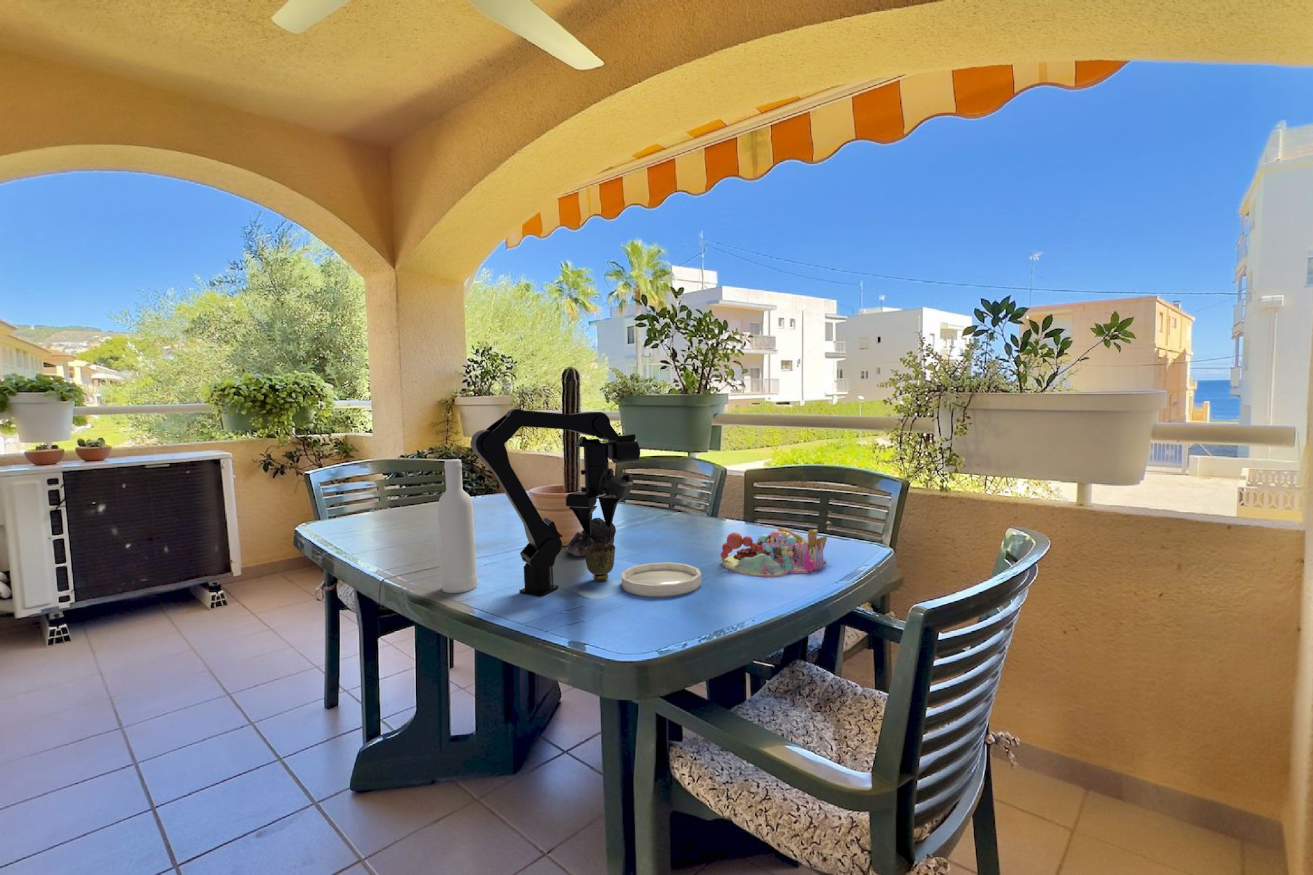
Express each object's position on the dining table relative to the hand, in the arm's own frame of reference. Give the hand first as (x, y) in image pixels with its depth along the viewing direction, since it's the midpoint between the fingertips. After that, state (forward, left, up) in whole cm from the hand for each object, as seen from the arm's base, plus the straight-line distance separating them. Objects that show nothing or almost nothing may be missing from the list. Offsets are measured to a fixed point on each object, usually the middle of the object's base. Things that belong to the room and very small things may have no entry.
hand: (599, 530), depth 143 cm
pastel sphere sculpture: (+27, -35, -12) cm, 46 cm away
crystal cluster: (+23, +17, -12) cm, 31 cm away
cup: (0, 0, -12) cm, 12 cm away
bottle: (-17, +28, -12) cm, 35 cm away
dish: (+2, -15, -12) cm, 19 cm away
